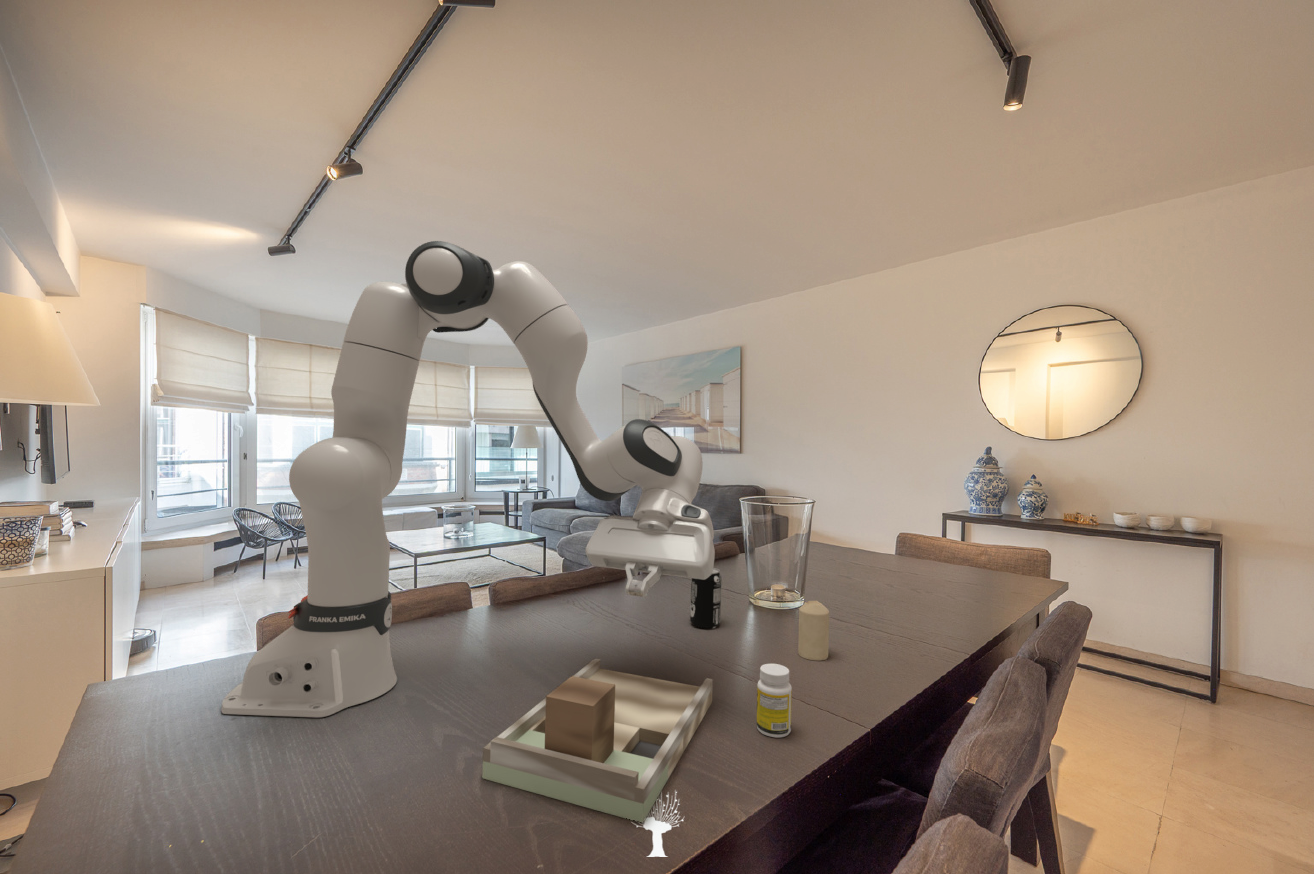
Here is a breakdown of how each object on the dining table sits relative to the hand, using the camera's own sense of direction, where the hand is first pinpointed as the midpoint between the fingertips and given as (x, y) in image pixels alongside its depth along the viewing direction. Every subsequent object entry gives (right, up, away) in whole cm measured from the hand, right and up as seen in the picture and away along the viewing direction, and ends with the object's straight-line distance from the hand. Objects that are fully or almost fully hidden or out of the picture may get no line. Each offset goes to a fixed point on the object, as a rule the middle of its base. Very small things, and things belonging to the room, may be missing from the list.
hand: (635, 594), depth 81 cm
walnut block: (-6, -15, -16) cm, 22 cm away
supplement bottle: (+19, -18, -4) cm, 27 cm away
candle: (+33, -19, +24) cm, 45 cm away
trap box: (-3, -17, -6) cm, 18 cm away
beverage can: (+14, -18, +40) cm, 46 cm away
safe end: (-6, -17, -16) cm, 24 cm away
